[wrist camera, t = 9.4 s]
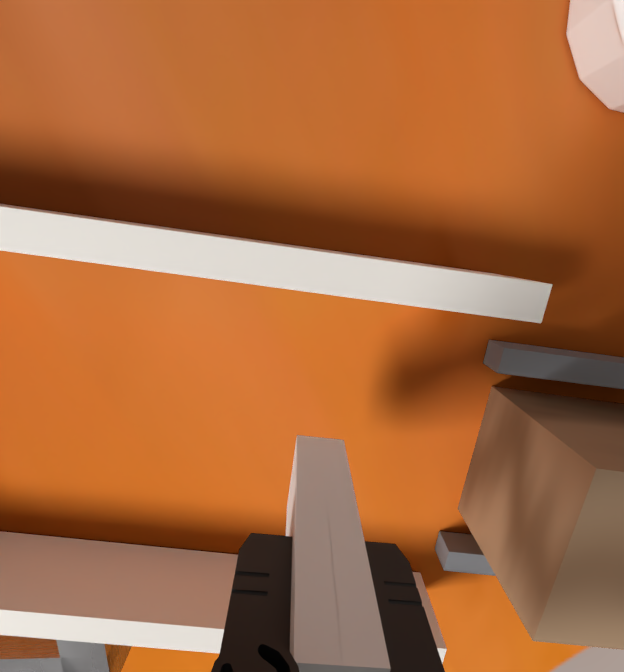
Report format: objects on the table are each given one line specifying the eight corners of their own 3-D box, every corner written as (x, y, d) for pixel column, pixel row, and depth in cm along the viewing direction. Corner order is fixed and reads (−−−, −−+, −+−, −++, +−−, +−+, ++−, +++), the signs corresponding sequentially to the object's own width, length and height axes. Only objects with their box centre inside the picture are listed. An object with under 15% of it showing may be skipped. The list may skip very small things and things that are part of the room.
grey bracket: (489, 339, 15) (504, 348, 14) (701, 367, 16) (732, 377, 15) (434, 548, 18) (443, 570, 17) (619, 567, 18) (641, 590, 17)
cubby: (-155, 181, 14) (-309, 162, 10) (495, 273, 15) (552, 284, 11) (-101, 543, 17) (-200, 617, 14) (415, 592, 19) (440, 671, 15)
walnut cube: (490, 385, 16) (596, 468, 10) (626, 403, 16) (802, 494, 11) (456, 507, 18) (533, 640, 12) (581, 521, 18) (716, 658, 12)
